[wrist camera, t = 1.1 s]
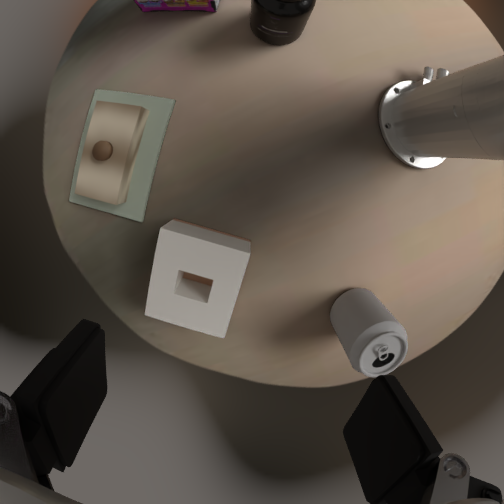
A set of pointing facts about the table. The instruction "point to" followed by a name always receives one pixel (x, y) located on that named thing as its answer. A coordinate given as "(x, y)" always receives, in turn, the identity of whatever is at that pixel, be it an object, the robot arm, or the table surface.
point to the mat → (145, 156)
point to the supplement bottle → (280, 19)
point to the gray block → (196, 276)
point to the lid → (110, 151)
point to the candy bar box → (177, 5)
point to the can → (368, 332)
